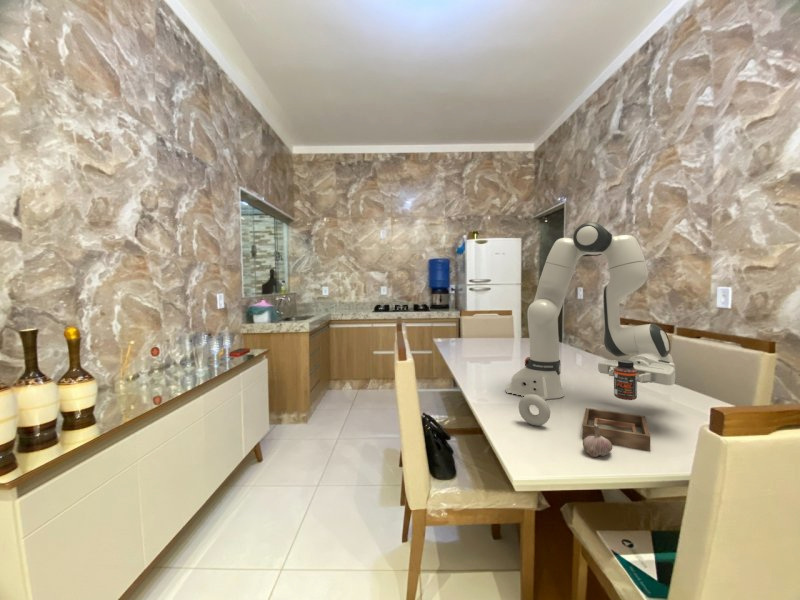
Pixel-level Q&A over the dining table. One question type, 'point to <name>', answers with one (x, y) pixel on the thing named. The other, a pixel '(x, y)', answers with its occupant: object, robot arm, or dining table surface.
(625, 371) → the supplement bottle
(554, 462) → the dining table surface
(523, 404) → the donut
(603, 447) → the garlic bulb
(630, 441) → the walled box
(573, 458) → the dining table surface
